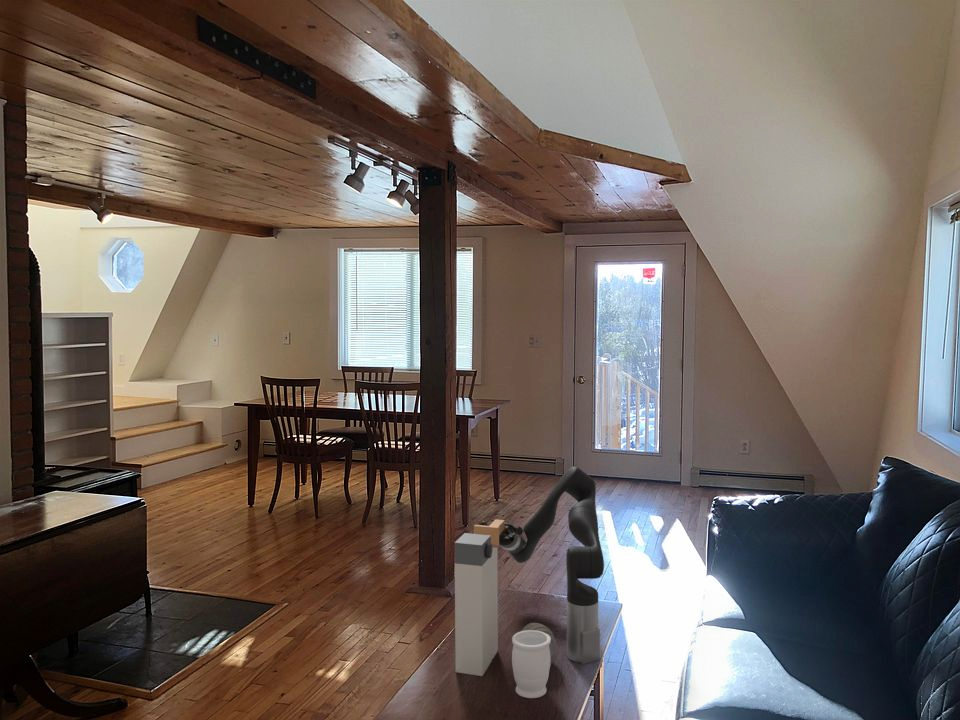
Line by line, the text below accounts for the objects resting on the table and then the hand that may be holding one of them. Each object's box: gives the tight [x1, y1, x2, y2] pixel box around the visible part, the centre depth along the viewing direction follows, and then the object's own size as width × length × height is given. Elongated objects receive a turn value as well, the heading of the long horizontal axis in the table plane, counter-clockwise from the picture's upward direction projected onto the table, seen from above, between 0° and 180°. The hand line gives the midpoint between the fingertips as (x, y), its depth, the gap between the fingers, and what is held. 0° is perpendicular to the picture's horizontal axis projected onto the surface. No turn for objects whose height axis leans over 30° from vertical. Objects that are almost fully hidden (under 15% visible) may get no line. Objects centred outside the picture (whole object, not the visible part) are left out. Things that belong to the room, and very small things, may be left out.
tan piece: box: [473, 519, 505, 546], centre depth 241 cm, size 16×8×5 cm, turn 163°
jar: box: [511, 630, 552, 699], centre depth 210 cm, size 11×10×15 cm
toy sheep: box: [520, 622, 557, 668], centre depth 226 cm, size 11×17×11 cm, turn 24°
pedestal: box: [454, 532, 499, 677], centre depth 226 cm, size 16×9×38 cm, turn 163°
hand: (496, 525), depth 244 cm, fingers open, 8 cm apart
